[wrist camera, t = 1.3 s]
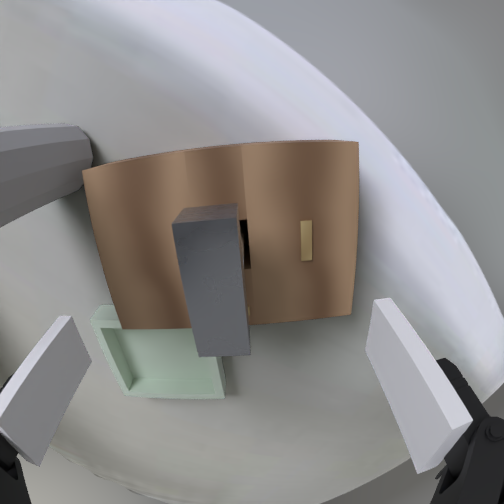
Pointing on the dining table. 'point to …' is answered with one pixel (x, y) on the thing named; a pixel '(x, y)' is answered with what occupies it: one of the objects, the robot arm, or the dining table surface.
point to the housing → (250, 211)
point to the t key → (214, 278)
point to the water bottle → (40, 166)
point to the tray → (157, 360)
